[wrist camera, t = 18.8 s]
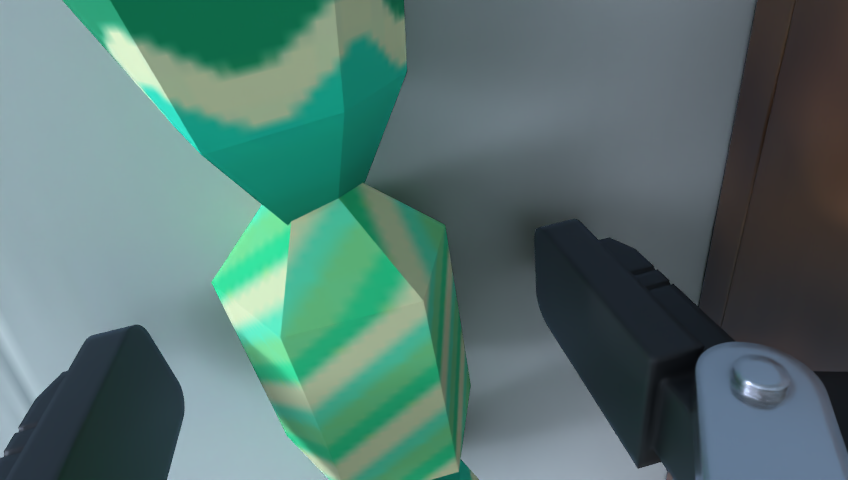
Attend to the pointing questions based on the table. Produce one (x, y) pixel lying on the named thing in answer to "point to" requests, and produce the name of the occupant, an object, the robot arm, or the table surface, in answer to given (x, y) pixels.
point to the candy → (314, 220)
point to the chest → (787, 190)
